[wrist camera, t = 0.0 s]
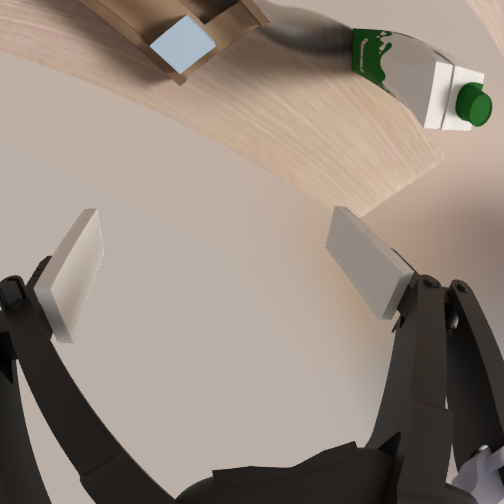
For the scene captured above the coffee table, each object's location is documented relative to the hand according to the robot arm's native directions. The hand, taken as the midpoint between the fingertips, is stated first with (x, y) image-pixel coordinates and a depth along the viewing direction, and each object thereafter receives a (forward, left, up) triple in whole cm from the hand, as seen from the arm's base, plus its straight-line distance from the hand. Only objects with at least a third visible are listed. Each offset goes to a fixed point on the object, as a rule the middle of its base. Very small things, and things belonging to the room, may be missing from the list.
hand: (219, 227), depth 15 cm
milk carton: (-22, +10, -28) cm, 37 cm away
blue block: (-2, -6, -25) cm, 26 cm away
